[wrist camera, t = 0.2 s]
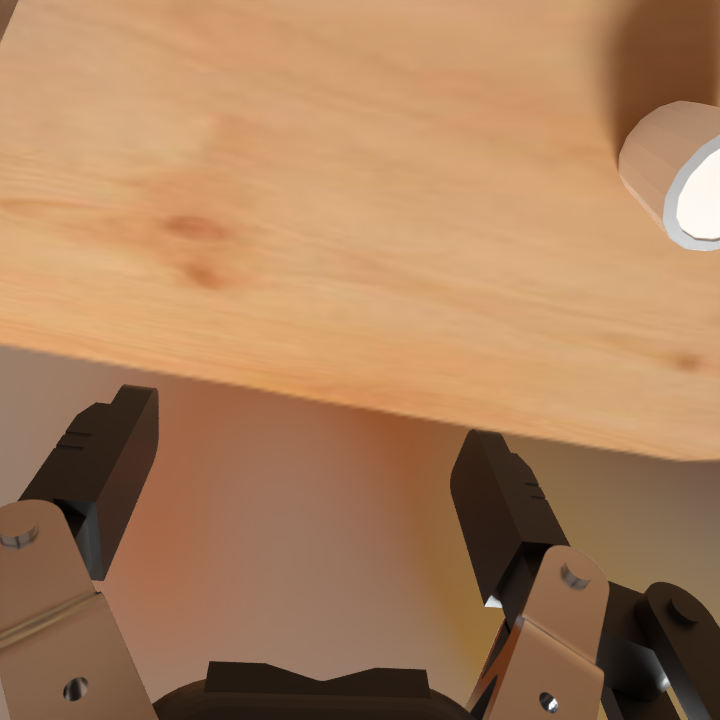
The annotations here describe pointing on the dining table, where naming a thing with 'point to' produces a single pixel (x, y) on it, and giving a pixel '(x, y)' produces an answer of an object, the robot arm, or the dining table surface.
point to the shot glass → (677, 171)
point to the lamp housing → (6, 14)
